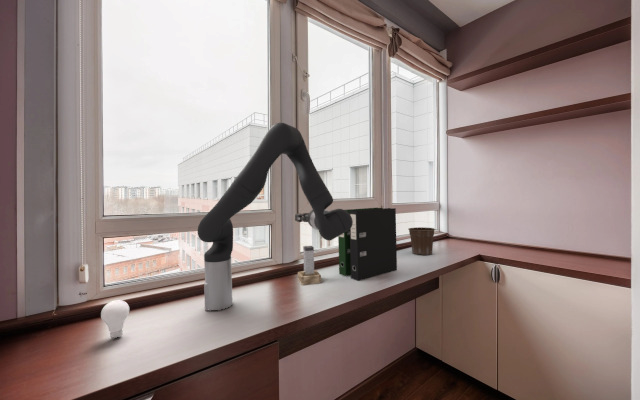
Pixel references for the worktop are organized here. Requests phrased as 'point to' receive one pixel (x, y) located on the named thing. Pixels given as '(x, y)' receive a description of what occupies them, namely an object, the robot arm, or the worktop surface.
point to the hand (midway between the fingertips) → (309, 215)
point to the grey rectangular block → (308, 260)
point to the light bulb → (115, 316)
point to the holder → (309, 278)
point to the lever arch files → (369, 244)
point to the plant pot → (422, 240)
